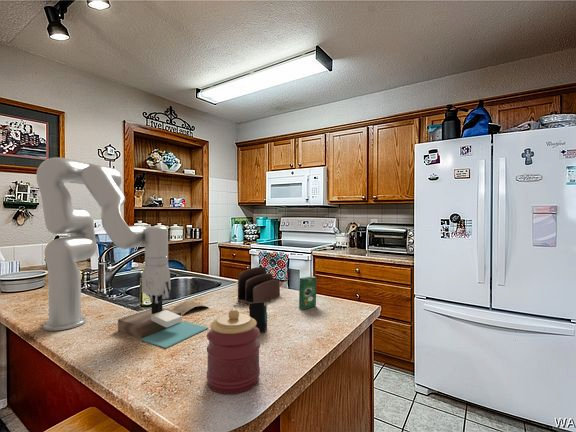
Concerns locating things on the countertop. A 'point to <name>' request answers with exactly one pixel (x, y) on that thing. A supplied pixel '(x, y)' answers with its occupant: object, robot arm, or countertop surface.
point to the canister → (233, 353)
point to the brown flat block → (141, 324)
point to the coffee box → (307, 292)
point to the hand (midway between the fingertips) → (157, 313)
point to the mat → (174, 334)
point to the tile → (166, 318)
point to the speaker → (259, 315)
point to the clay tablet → (186, 307)
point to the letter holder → (257, 286)
